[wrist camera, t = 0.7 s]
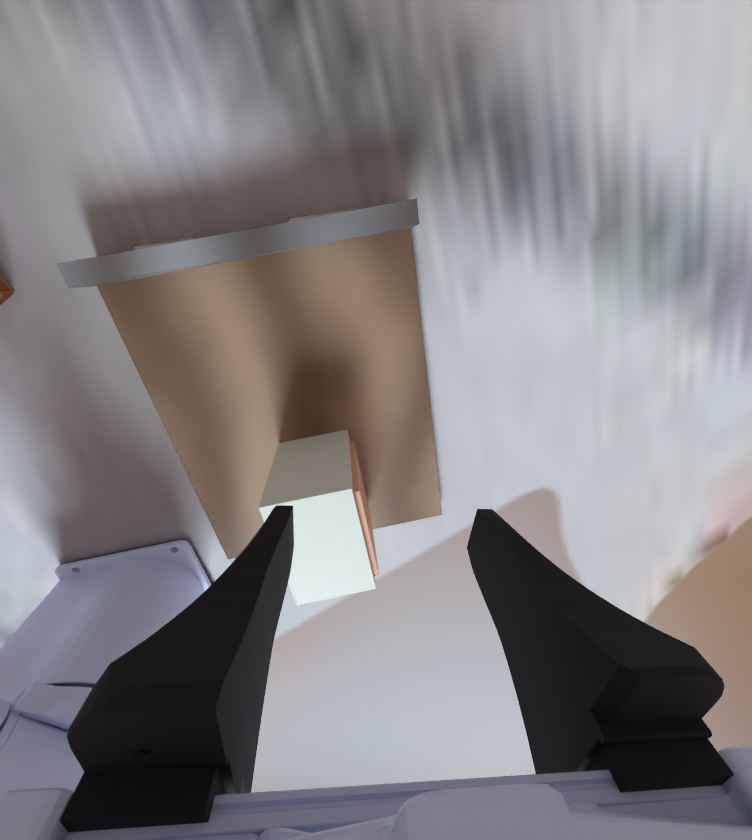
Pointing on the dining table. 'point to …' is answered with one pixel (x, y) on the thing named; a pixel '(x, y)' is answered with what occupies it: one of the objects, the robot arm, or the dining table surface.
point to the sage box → (324, 516)
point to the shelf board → (281, 354)
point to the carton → (5, 290)
